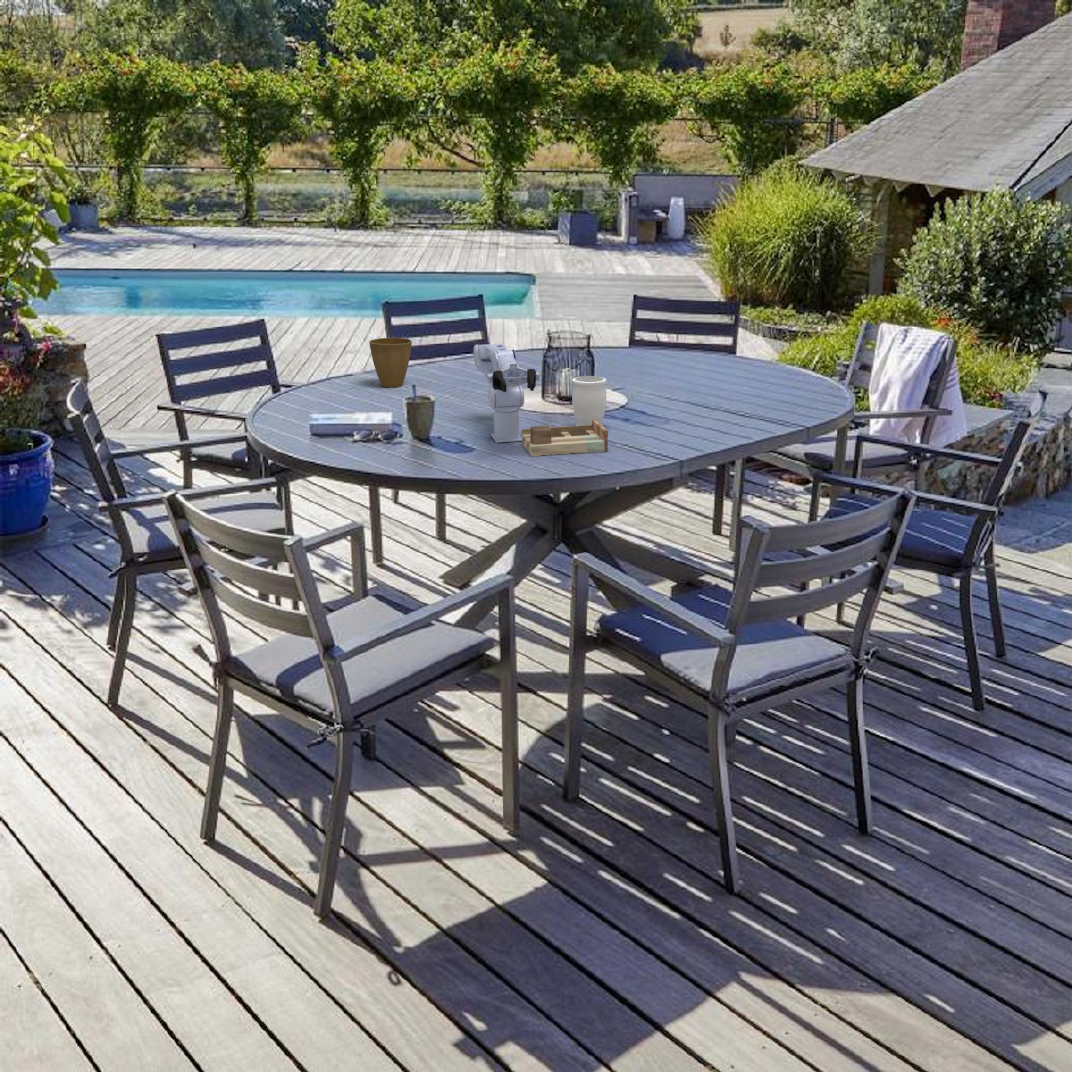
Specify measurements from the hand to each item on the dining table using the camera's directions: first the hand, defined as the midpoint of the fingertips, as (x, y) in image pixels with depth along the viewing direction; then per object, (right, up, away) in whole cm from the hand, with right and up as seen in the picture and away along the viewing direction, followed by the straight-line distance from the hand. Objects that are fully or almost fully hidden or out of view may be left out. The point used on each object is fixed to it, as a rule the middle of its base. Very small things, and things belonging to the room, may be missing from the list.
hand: (519, 388), depth 346 cm
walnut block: (+6, -14, +9) cm, 18 cm away
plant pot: (-46, +12, +100) cm, 111 cm away
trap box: (+13, -15, +15) cm, 25 cm away
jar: (+21, -8, +38) cm, 44 cm away
